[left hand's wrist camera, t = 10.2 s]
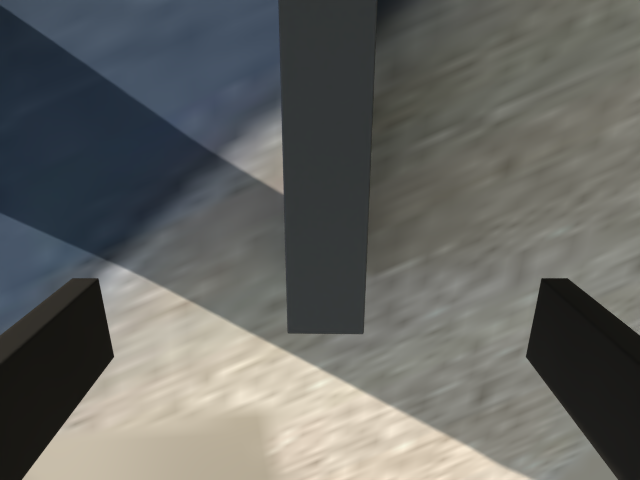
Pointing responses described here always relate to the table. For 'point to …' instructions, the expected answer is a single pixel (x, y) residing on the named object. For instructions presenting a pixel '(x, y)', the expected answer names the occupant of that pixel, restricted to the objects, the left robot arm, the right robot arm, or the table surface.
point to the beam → (326, 159)
